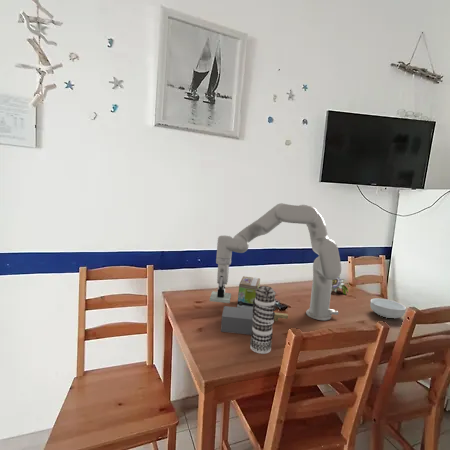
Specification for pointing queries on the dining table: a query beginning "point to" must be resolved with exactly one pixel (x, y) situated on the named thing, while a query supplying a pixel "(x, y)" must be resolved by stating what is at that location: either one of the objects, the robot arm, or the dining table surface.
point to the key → (280, 316)
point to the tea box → (247, 292)
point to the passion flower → (339, 285)
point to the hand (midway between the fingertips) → (221, 295)
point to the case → (237, 320)
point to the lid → (219, 299)
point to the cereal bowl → (387, 308)
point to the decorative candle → (263, 320)
